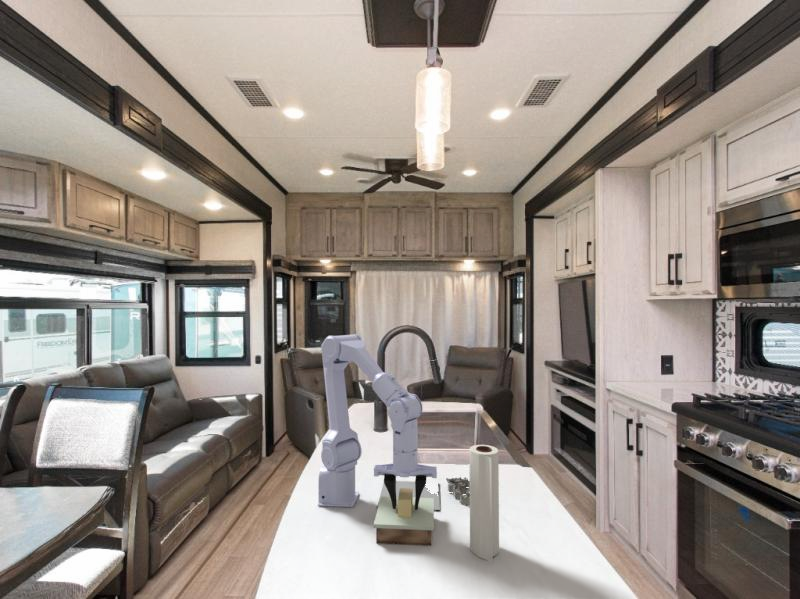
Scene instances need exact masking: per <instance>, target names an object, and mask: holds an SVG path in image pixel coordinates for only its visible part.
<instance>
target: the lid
mask: <svg viewBox="0 0 800 599" xmlns="http://www.w3.org/2000/svg"><path fill="white" fill-rule="evenodd" d="M396 499H397V502H396V509H393V507H392V501H391V498H390V497H385V496H381V499H380V503H379V507H378V509H377V511H376V514H375V518H374V522H373V529H374V528H375V529H376V528H388V529H412V530H432V531H434V530H435V528H434V527H435V525H434V524H435V520H434V518H435V516H434V515H435V514H434V513H435V511H434V498H420V499H419V504H418V510H415V498H414V497H413V488H400V491H399V497H396Z"/></svg>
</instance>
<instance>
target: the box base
mask: <svg viewBox="0 0 800 599" xmlns="http://www.w3.org/2000/svg"><path fill="white" fill-rule="evenodd" d="M375 531H376V532H375V533H376V534H375V539H376V540H375V543H376V544H383V545H404V546H424V547H425V546H427V547H432V539H431V538H432V537H433V536H432V534H433V533H432V532H433V530H412V529H388V528H375Z"/></svg>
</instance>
